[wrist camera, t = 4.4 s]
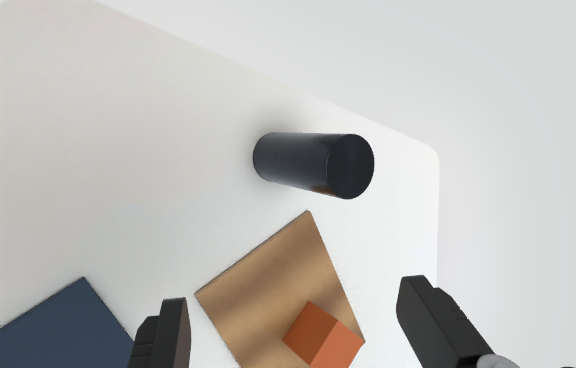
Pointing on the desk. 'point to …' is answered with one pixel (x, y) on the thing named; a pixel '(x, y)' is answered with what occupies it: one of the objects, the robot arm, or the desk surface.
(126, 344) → the slate mat
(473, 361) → the robot arm
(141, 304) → the desk surface
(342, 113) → the desk surface
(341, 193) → the charcoal tin
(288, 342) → the orange block
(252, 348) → the cork mat
